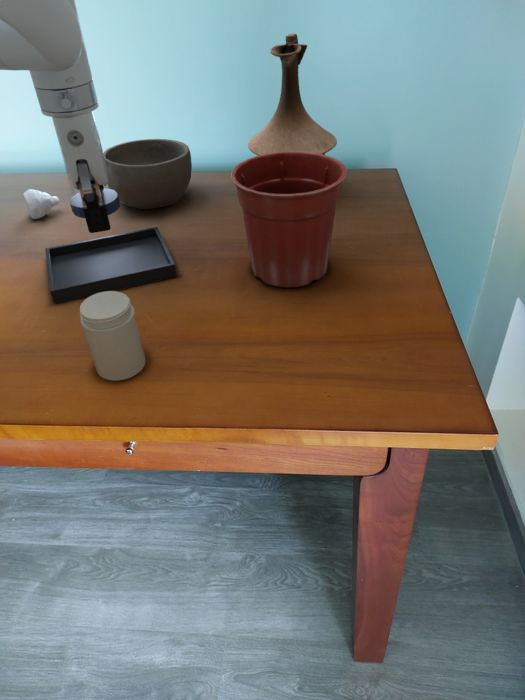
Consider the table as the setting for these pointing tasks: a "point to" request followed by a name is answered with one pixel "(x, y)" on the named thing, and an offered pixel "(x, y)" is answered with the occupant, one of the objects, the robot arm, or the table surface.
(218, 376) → the table surface
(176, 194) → the bowl
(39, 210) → the garlic bulb
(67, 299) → the tray
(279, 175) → the flower pot
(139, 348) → the jar
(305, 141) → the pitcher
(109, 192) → the jar lid
